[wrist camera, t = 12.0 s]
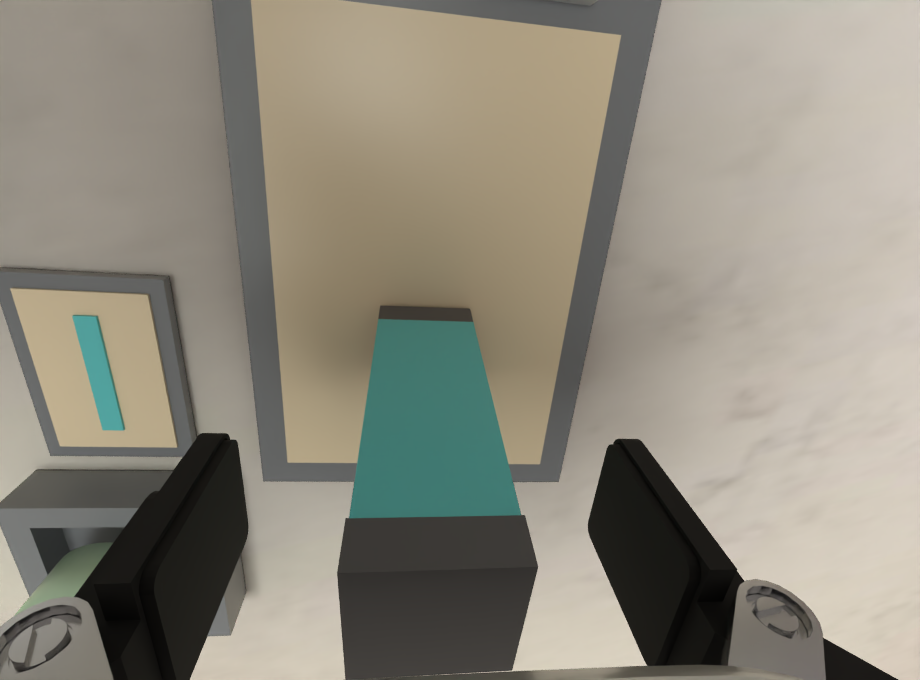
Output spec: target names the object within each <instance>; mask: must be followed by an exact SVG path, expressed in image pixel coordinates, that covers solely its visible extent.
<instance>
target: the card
mask: <svg viewBox="0 0 920 680" xmlns="http://www.w3.org/2000/svg"><path fill="white" fill-rule="evenodd" d="M0 304H1V307H2V310H3V313H4V316H5V319H6V322H7V325H8V328H9V331H10V334H11V337H12V340H13V343H14V346H15V349H16V352H17V356H18V359H19V362H20V365H21V368H22V371H23V374H24V377H25V380H26V383H27V386H28V389H29V392H30V395H31V398H32V401H33V404H34V407H35V410H36V413H37V416H38V419H39V422H40V425H41V428H42V431H43V435H44V438H45V441H46V444H47V447H48V450H49V453H50V456H144V457H184V455H185V454H186V452H187V451H188V450H189V448H190V447H191V445H192V444H193V442H194V441H195V440H196V438H197V437H196V431H195V425H194V420H193V414H192V408H191V402H190V396H189V390H188V385H187V379H186V373H185V367H184V361H183V355H182V350H181V344H180V338H179V332H178V326H177V320H176V315H175V309H174V303H173V297H172V291H171V285H170V280H169V276H152V275H133V274H113V273H94V272H75V271H55V270H36V269H17V268H0Z"/></svg>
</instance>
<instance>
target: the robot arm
mask: <svg viewBox="0 0 920 680" xmlns="http://www.w3.org/2000/svg"><path fill="white" fill-rule="evenodd" d="M588 532H589V536H590V538H591V541H592V543H593V545H594V547H595V550H596V552H597V554H598V557H599V559H600V561H601V563H602V566H603V568H604V570H605V572H606V575H607V577H608V579H609V581H610V584H611V586H612V588H613V591H614V593H615V595H616V597H617V600H618V602H619V604H620V606H621V609H622V611H623V613H624V615H625V618H626V620H627V622H628V625H629V627H630V629H631V631H632V634H633V636H634V638H635V640H636V643H637V645H638V647H639V649H640V652H641V654H642V656H643V658H644V661H645V662H646V664H647V666H630V667H606V668H583V669H559V670H535V671H513V672H492V673H471V674H450V675H430V676H410V677H390V678H371V679H352V680H898V679H896V678H894V677H892V676H891V675H889V674H887V673H885V672H883V671H882V670H880V669H878V668H876V667H874V666H873V665H871V664H869V663H867V662H866V661H864V660H862V659H860V658H858V657H857V656H855V655H853V654H851V653H849V652H848V651H846V650H844V649H842V648H840V647H839V646H837V645H835V644H833V643H831V642H830V641H828V640H826V639H824V638H823V633H822V629H821V625H820V622H819V621H818V619H817V618H816V616H815V614H814V613H813V612H812V610H811V609H810V608H809V607H808V606H807V605H806V604H805V603H804V602H803V601H802V600H800V599H799V598H798V597H797V596H795V595H794V594H793V593H791V592H790V591H788V590H786V589H784V588H783V587H781V586H779V585H776V584H774V583H771V582H768V581H764V580H758V579H753V580H746V581H744V580H743V579H742V577H741V576H740V575H739V573H738V572H737V568H736V567H735V566H734V564H733V563H732V562H731V560H730V559H729V558H728V556H727V555H726V554H725V552H724V551H723V550H722V548H721V547H720V546H719V544H718V543H717V542H716V540H715V539H714V538H713V536H712V535H711V534H710V532H709V531H708V530H707V528H706V527H705V526H704V524H703V523H702V522H701V520H700V519H699V518H698V516H697V515H696V513H695V512H694V511H693V509H692V508H691V507H690V505H689V504H688V503H687V501H686V500H685V499H684V497H683V496H682V495H681V493H680V492H679V491H678V489H677V488H676V487H675V485H674V484H673V483H672V481H671V480H670V479H669V477H668V476H667V475H666V473H665V472H664V471H663V469H662V468H661V467H660V465H659V464H658V463H657V461H656V460H655V459H654V457H653V456H652V455H651V453H650V452H649V451H648V449H647V448H646V447H645V445H644V444H643V442H642V441H640V440H638V439H617V440H615V442H614V444H611V445H609V446H608V448H607V451H606V455H605V459H604V462H603V466H602V470H601V474H600V478H599V482H598V486H597V490H596V494H595V498H594V501H593V505H592V509H591V513H590V517H589V521H588ZM247 535H248V518H247V511H246V503H245V495H244V487H243V480H242V472H241V464H240V457H239V449H238V443H237V441H236V440H230V437H229V435H228V434H226V433H202V434H200V435H199V436H198V437H197V438H196V440H195V441H194V442H193V444H192V445H191V447H190V448H189V450H188V451H187V452H186V454H185V455H184V457H183V458H182V459H181V461H180V462H179V464H178V465H177V466H176V468H175V469H174V471H173V472H172V474H171V475H170V476H169V478H168V479H167V481H166V482H165V483H164V485H163V486H162V488H161V489H160V491H154V492H152V493H150V494H149V495H148V497H147V498H146V499H145V500H144V501H143V503H142V504H141V506H140V507H139V508H138V510H137V511H136V512H135V514H134V515H133V516H132V518H131V519H130V521H129V522H128V523H127V525H126V526H125V527H124V529H123V530H122V532H121V533H120V534H119V536H118V537H117V538H116V540H115V541H114V543H113V544H112V545H111V547H110V548H109V549H108V551H107V552H106V554H105V555H104V556H103V558H102V559H101V560H100V562H99V563H98V564H97V566H96V567H95V569H94V570H93V571H92V573H91V574H90V575H89V577H88V578H87V580H86V581H85V582H84V584H83V585H82V586H81V588H80V589H79V591H78V592H77V593H76V595H75V596H74V597H61V598H55V599H50V600H47V601H44V602H42V603H39V604H36V605H34V606H31V607H29V608H28V609H26V610H24V611H22V612H20V613H19V614H17V615H15V616H14V617H12V618H11V619H10V620H8V621H7V622H6V623H4V624H3V625H2V626H0V680H190V677H191V675H192V672H193V670H194V668H195V665H196V663H197V660H198V658H199V655H200V653H201V650H202V648H203V645H204V643H205V641H206V638H207V636H208V633H209V631H210V628H211V626H212V623H213V621H214V618H215V616H216V613H217V611H218V609H219V606H220V604H221V601H222V599H223V596H224V594H225V591H226V589H227V586H228V584H229V582H230V579H231V577H232V574H233V572H234V569H235V567H236V564H237V562H238V559H239V557H240V555H241V552H242V550H243V547H244V545H245V542H246V539H247Z"/></svg>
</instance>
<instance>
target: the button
mask: <svg viewBox="0 0 920 680" xmlns="http://www.w3.org/2000/svg"><path fill="white" fill-rule="evenodd" d="M112 544H113V542H104V543H94V544H88V545H85V546H81V547H79V548H76V549H74V550H72V551H70V552H69V553H67V554H66V555H65V556H64V557H63V558H62V559H61V560H60V561H59V562H58V563H57V564H56V566H55V567H54V568H53V569H52V570H51V572H50V573H49V574H48V575H47V577H46V578H45V579H44V580H43V581H42V583H41V584H40V585H39V586H38V587H37V589H36V590H35V591H34V592H33V593H32V595H31V596H30V597H29V598H28V600H27V601H26V602H25V603H24V604H23V606H22V607H21V608H20V609H19V610H18V612H17V613H16V614H15V615H17V614H19V613H20V612H22V611H24V610H26V609H28V608H29V607H31V606H34V605H36V604H39V603H42V602H44V601H47V600H50V599H55V598H61V597H74V596H75V595H76V593H77V592H78V591H79V589H80V588H81V586H82V585H83V584H84V582H85V581H86V580H87V578H88V577H89V575H90V574H91V573H92V571H93V570H94V569H95V567H96V566H97V564H98V563H99V562H100V560H101V559H102V558H103V556H104V555H105V554H106V552H107V551H108V549H109V548H110V547H111V545H112ZM15 615H14V616H15Z"/></svg>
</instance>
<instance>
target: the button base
mask: <svg viewBox="0 0 920 680" xmlns="http://www.w3.org/2000/svg"><path fill="white" fill-rule="evenodd" d="M172 472H173V471H103V470H36V471H35V472H34V473H33V474H31V475H30V476H29V477H28V478H27V479H26V480H25V481H24V482H22V483H21V484H20V485H19V486H18V487H17V488H16V489H15V490H14V491H12V492H11V493H10V494H9V495H8V496H7V497H6V498H5V499H3V500H2V501H1V502H0V526H1V529H2V531H3V534H4V536H5V538H6V541H7V543H8V546H9V548H10V551H11V553H12V555H13V558H14V560H15V563H16V565H17V568H18V570H19V572H20V575H21V577H22V580H23V582H24V584H25V587H26V589H27V592H28V594H29V597H30V596H31V595H32V593H33V592H34V591H35V590H36V589H37V587H38V586H39V585H40V584H41V583H42V581H43V580H44V579H45V578H46V577H47V575H48V574H49V573H50V572H51V570H52V569H53V568H54V567H55V566H56V564H57V563H58V562H59V561H60V560H61V559H62V558H63V557H64V556H65V555H66V554H67V553H69V552H70V551H72V550H74V549H76V548H79V547H81V546H85V545H88V544H94V543H104V542H113V543H114V541H115V540H116V538H117V537H118V536H119V534H120V533H121V532H122V530H123V529H124V527H125V526H126V525H127V523H128V522H129V521H130V519H131V518H132V516H133V515H134V514H135V512H136V511H137V510H138V508H139V507H140V506H141V504H142V503H143V501H144V500H145V499H146V498H147V497H148V495H149V494H150V493H152V492H154V491H160V489H161V488H162V486H163V485H164V483H165V482H166V481H167V479H168V478H169V476H170V475H171V474H172ZM245 595H246V588H245V581H244V574H243V567H242V560H241V555H240V557H239V559H238V562H237V564H236V567H235V569H234V572H233V574H232V577H231V579H230V582H229V584H228V586H227V589H226V591H225V594H224V596H223V599H222V601H221V604H220V606H219V609H218V611H217V613H216V616H215V618H214V621H213V623H212V626H211V628H210V631H209V633H208V636H229V635H231V633H232V631H233V628H234V625H235V622H236V619H237V617H238V614H239V611H240V608H241V606H242V603H243V600H244V597H245Z"/></svg>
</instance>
